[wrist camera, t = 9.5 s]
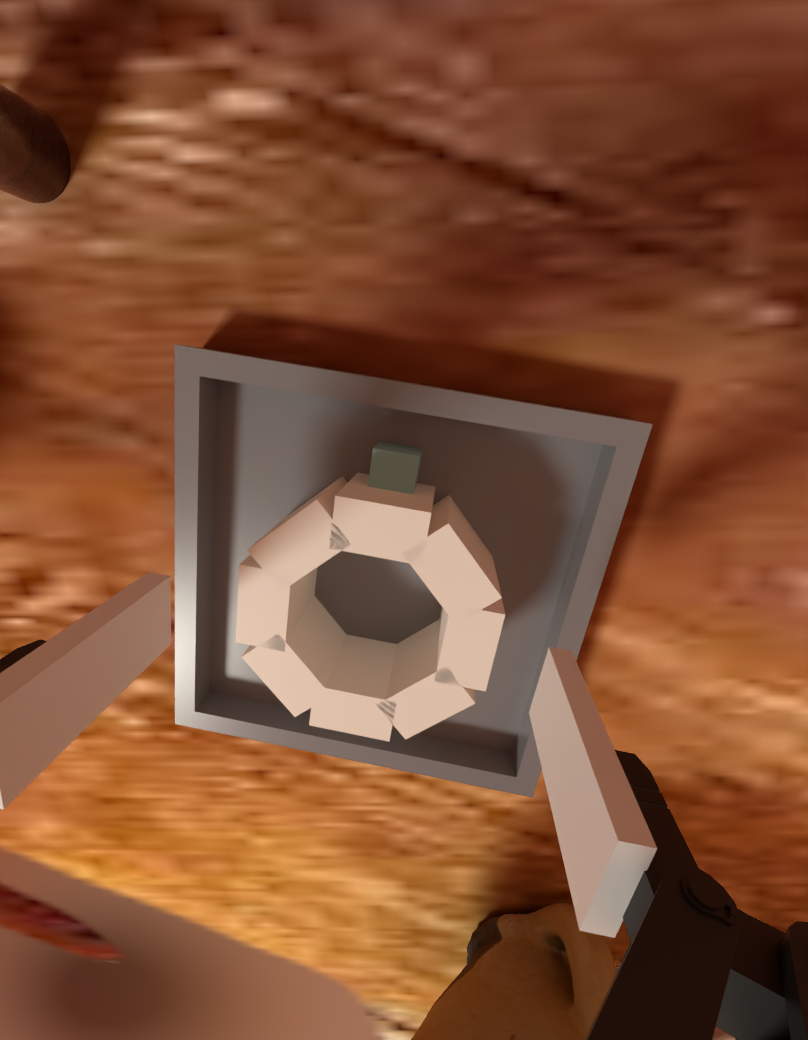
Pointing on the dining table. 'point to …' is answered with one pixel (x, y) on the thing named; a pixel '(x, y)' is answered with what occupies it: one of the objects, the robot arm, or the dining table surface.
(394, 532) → the ring
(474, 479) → the tray
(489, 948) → the bowl
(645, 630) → the dining table surface
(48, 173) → the capsule
